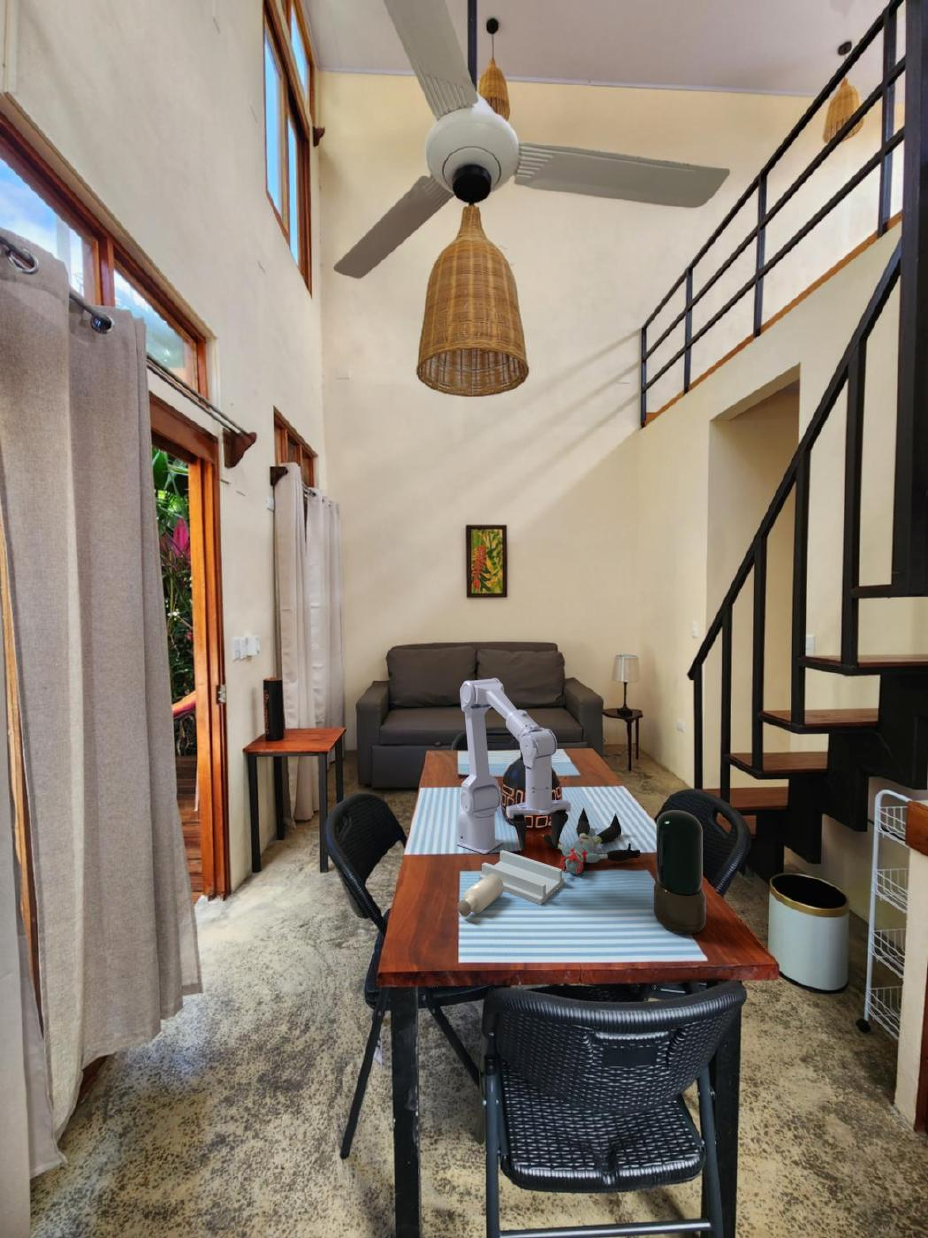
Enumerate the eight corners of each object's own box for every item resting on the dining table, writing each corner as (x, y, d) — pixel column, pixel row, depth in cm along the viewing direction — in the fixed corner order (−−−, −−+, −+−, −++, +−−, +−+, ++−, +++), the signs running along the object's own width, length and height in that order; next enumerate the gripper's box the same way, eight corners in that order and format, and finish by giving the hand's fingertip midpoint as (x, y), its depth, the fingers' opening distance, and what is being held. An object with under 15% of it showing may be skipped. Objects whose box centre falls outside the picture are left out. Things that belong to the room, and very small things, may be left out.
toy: (648, 818, 138) (627, 862, 111) (648, 847, 138) (627, 898, 111) (556, 802, 150) (517, 838, 123) (556, 829, 150) (516, 871, 123)
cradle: (479, 881, 118) (478, 866, 118) (505, 862, 127) (505, 848, 127) (540, 905, 109) (540, 889, 109) (564, 882, 117) (564, 867, 117)
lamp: (705, 943, 96) (705, 826, 95) (651, 930, 100) (651, 818, 100) (705, 915, 105) (705, 808, 104) (655, 904, 109) (655, 801, 108)
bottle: (485, 891, 114) (485, 870, 114) (503, 899, 111) (504, 877, 111) (454, 916, 105) (454, 893, 105) (472, 925, 102) (472, 901, 102)
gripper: (513, 794, 109) (514, 858, 109) (576, 788, 112) (577, 850, 113) (503, 783, 116) (503, 843, 116) (563, 777, 119) (563, 836, 119)
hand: (539, 845), depth 115 cm, fingers open, 7 cm apart
